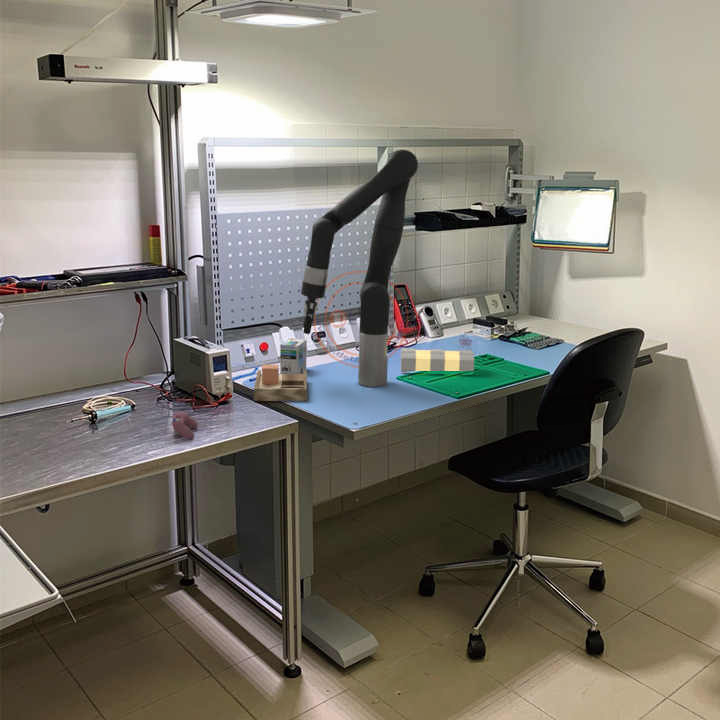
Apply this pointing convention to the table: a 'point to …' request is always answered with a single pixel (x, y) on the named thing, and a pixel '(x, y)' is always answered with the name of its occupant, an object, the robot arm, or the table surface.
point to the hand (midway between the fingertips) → (306, 330)
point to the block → (270, 374)
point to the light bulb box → (293, 356)
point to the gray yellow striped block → (438, 359)
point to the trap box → (282, 388)
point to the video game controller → (184, 424)
